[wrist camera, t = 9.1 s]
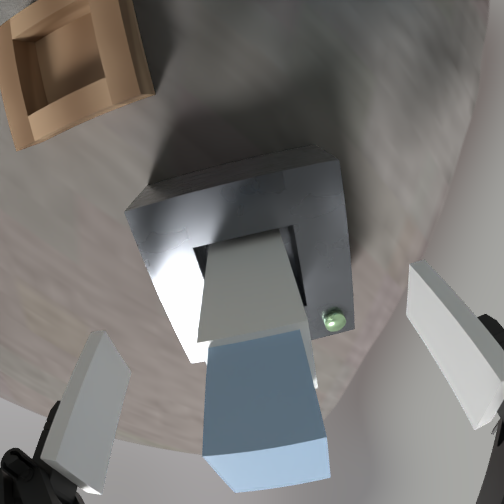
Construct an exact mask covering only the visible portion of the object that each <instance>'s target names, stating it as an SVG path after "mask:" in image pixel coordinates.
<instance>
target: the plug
mask: <svg viewBox="0 0 504 504" xmlns="http://www.w3.org/2000/svg"><path fill="white" fill-rule="evenodd" d="M197 345H198V347H199V349H200V351H201V354H202V356H203V358H204V360H205V362H206V364H207V374H206V391H205V409H204V429H203V452H202V456H203V458H204V459H205V460H206V461H207V462H208V464H209V465H210V466H211V467H212V468H213V469H214V470H215V472H216V473H217V474H218V475H219V476H220V477H221V478H222V479H223V480H224V482H225V483H226V484H227V485H228V486H229V487H230V488H231V489H232V490H233V491H234V492H235V493H236V492H247V491H256V490H264V489H272V488H278V487H285V486H290V485H296V484H301V483H307V482H311V481H317V480H321V479H325V478H330V466H329V455H328V445H327V436H326V432H325V428H324V424H323V419H322V415H321V411H320V407H319V403H318V399H317V395H316V391H315V389H316V388H318V385H317V378H316V371H315V364H314V357H313V350H312V344H311V337H310V331H309V324H308V319H307V316H306V313H305V309H304V306H303V303H302V300H301V296H300V293H299V290H298V287H297V284H296V280H295V277H294V274H293V271H292V268H291V265H290V262H289V259H288V255H287V252H286V249H285V246H284V243H283V240H282V237H281V234H280V231H279V228H276V229H272V230H267V231H263V232H259V233H254V234H250V235H246V236H241V237H237V238H233V239H228V240H224V241H220V242H216V243H211V244H209V250H208V257H207V264H206V271H205V279H204V286H203V294H202V302H201V310H200V318H199V326H198V335H197Z"/></svg>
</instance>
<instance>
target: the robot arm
mask: <svg viewBox="0 0 504 504" xmlns="http://www.w3.org/2000/svg"><path fill="white" fill-rule="evenodd" d="M407 298H408V299H407V311H406V316H407V317H408V319H409V320H410V322H411V323H412V325H413V326H414V328H415V329H416V331H417V332H418V334H419V336H420V337H421V339H422V340H423V342H424V343H425V345H426V347H427V348H428V350H429V351H430V353H431V355H432V356H433V358H434V359H435V361H436V363H437V364H438V366H439V368H440V370H441V371H442V373H443V375H444V376H445V378H446V379H447V381H448V383H449V385H450V386H451V388H452V390H453V391H454V394H455V395H456V397H457V399H458V401H459V402H460V404H461V406H462V408H463V410H464V412H465V413H466V415H467V417H468V419H469V421H470V422H471V424H472V427H473V428H474V430H476V429H478V428H479V427H481V426H483V425H485V424H487V423H489V422H490V421H491V420H492V419H493V418H494V416H495V414H496V413H497V412H498V414H499V416H500V420H499V421H498V423H497V425H496V426H495V427H494V429H493V431H492V433H491V434H494V433H495V432H496V430H497V432H496V437H495V441H494V446H493V449H492V453H491V457H490V461H489V465H488V468H487V472H486V475H485V478H484V481H483V484H482V487H481V490H480V493H479V496H478V499H477V502H476V504H504V329H503V327H502V326H501V325H500V324H499V323H498V322H497V320H495V319H493V318H492V317H490V316H488V315H487V314H484V315H481V316H479V317H476V316H475V315H474V313H473V312H472V311H471V310H470V309H469V307H468V306H467V305H466V304H465V303H464V302H463V301H462V299H461V298H460V297H459V296H458V295H457V294H456V293H455V292H454V290H453V289H452V288H451V287H450V286H449V285H448V284H447V283H446V282H445V281H444V280H443V278H441V276H440V275H439V274H438V273H437V272H436V271H435V270H434V269H433V268H432V267H431V266H430V265H429V264H428V263H427V262H426V261H425V260H421V261H418V262H414V263H411V264H409V281H408V297H407ZM130 375H131V371H130V369H129V368H128V366H127V365H126V363H125V362H124V360H123V359H122V357H121V356H120V354H119V352H118V351H117V349H116V348H115V346H114V344H113V343H112V341H111V340H110V338H109V336H108V335H107V333H106V331H105V330H102V331H96V332H91V334H90V336H89V338H88V340H87V342H86V344H85V346H84V349H83V351H82V353H81V355H80V357H79V360H78V362H77V364H76V366H75V369H74V371H73V373H72V376H71V378H70V380H69V383H68V385H67V387H66V390H65V392H64V395H63V397H62V400H61V401H57V402H56V404H55V405H54V406H53V408H52V409H51V410H50V413H49V415H48V418H47V422H46V423H45V426H44V430H43V431H42V434H41V436H40V439H39V442H38V445H37V447H36V450H35V453H34V456H33V458H32V459H31V458H30V457H29V456H27V455H26V454H25V453H24V452H23V451H21V450H20V449H19V448H12V449H10V450H8V451H7V452H6V453H5V454H4V456H3V458H2V460H1V468H0V504H84V502H83V500H82V498H81V496H80V495H79V494H78V493H77V492H76V490H77V486H78V487H79V488H81V489H82V490H84V491H85V492H87V493H94V494H100V495H102V493H103V488H104V483H105V478H106V473H107V468H108V464H109V459H110V455H111V450H112V446H113V442H114V437H115V433H116V429H117V425H118V421H119V417H120V413H121V409H122V405H123V401H124V397H125V394H126V390H127V386H128V383H129V379H130Z"/></svg>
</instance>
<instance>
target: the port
mask: <svg viewBox="0 0 504 504" xmlns="http://www.w3.org/2000/svg"><path fill="white" fill-rule="evenodd" d="M125 215H126V218H127V220H128V223H129V226H130V228H131V231H132V233H133V236H134V238H135V241H136V243H137V246H138V248H139V251H140V253H141V256H142V258H143V261H144V263H145V265H146V268H147V270H148V272H149V275H150V277H151V279H152V282H153V284H154V286H155V288H156V291H157V293H158V295H159V297H160V300H161V302H162V304H163V306H164V308H165V310H166V313H167V315H168V317H169V319H170V321H171V323H172V325H173V327H174V329H175V332H176V334H177V336H178V338H179V340H180V342H181V344H182V346H183V348H184V350H185V352H186V354H187V356H188V358H189V360H190V362H191V363H197V362H203V361H205V360H204V358H203V356H202V354H201V351H200V349H199V347H198V345H197V335H198V326H199V318H200V310H201V302H202V294H203V286H204V279H205V271H206V264H207V257H208V250H209V244H211V243H216V242H220V241H224V240H228V239H233V238H237V237H241V236H246V235H250V234H254V233H259V232H263V231H267V230H272V229H276V228H279V231H280V234H281V237H282V240H283V243H284V246H285V249H286V252H287V255H288V259H289V262H290V265H291V268H292V271H293V274H294V277H295V280H296V284H297V287H298V290H299V293H300V296H301V300H302V303H303V306H304V309H305V313H306V316H307V319H308V324H309V331H310V337H311V340H313V339H317V338H322V337H326V336H330V335H333V334H337V333H341V332H345V331H349V330H352V329H355V326H354V303H353V285H352V270H351V257H350V246H349V235H348V225H347V216H346V207H345V199H344V191H343V183H342V176H341V169H340V162H339V159H337V158H336V157H334V156H333V155H331V154H330V153H328V152H326V151H325V150H323V149H322V148H320V147H318V146H317V145H309V146H304V147H299V148H294V149H289V150H284V151H279V152H275V153H270V154H265V155H261V156H257V157H252V158H248V159H244V160H239V161H235V162H231V163H227V164H223V165H219V166H215V167H211V168H207V169H203V170H200V171H196V172H192V173H189V174H185V175H181V176H178V177H174V178H171V179H167V180H164V181H160V182H157V183H154V184H150V185H147V186H146V188H145V189H144V190H143V191H142V192H141V193H140V194H139V195H138V197H137V198H136V199H135V200H134V201H133V202H132V203H131V205H130V206H129V207H128V208H127V209H126V210H125Z"/></svg>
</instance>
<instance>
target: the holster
mask: <svg viewBox="0 0 504 504" xmlns="http://www.w3.org/2000/svg"><path fill="white" fill-rule="evenodd" d="M0 89H1V93H2V98H3V103H4V107H5V111H6V115H7V119H8V123H9V127H10V131H11V134H12V138H13V141H14V145H15V148H16V151H19V150H22V149H25V148H27V147H30V146H33V145H36V144H38V143H41V142H44V141H46V140H48V139H50V138H52V137H54V136H56V135H58V134H60V133H62V132H64V131H66V130H68V129H70V128H72V127H74V126H77V125H79V124H81V123H83V122H86V121H88V120H90V119H92V118H95V117H97V116H100V115H102V114H104V113H107V112H109V111H112V110H114V109H117V108H119V107H122V106H125V105H127V104H130V103H133V102H135V101H138V100H141V99H144V98H147V97H150V96H153V95H156V94H155V91H154V87H153V83H152V79H151V75H150V72H149V68H148V64H147V60H146V56H145V52H144V48H143V44H142V40H141V36H140V31H139V27H138V23H137V19H136V14H135V10H134V6H133V1H132V0H37V1H36V2H34V3H32V4H31V5H29V6H28V7H26V8H25V9H23V10H22V11H20V12H19V13H18V14H16V15H15V16H13V17H12V18H10V19H9V20H8V21H6V22H5V23H4V24H2V25H1V26H0Z"/></svg>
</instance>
